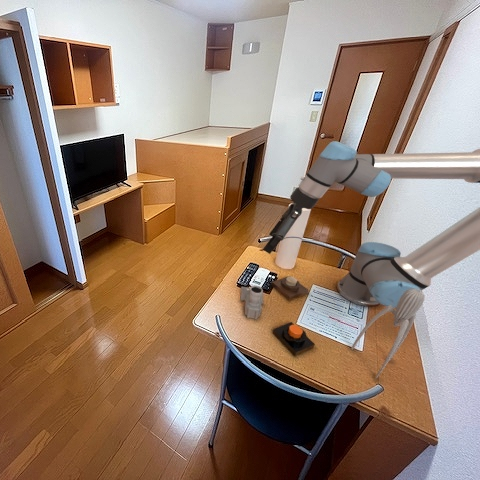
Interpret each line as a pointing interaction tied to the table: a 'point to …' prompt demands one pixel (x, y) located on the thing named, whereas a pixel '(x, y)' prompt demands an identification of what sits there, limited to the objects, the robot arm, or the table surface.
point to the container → (292, 242)
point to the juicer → (399, 319)
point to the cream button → (291, 281)
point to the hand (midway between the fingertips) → (269, 243)
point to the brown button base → (289, 289)
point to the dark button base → (293, 340)
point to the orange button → (295, 331)
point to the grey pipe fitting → (252, 300)
